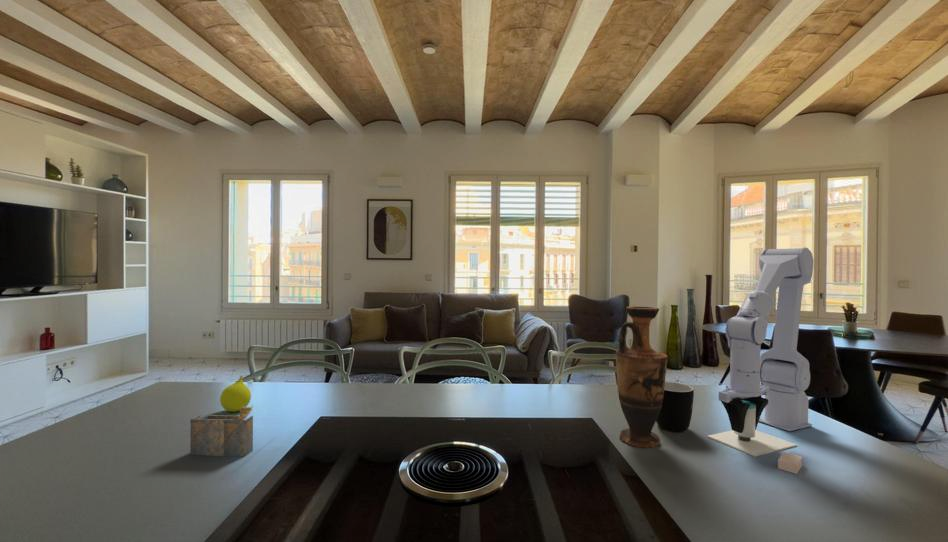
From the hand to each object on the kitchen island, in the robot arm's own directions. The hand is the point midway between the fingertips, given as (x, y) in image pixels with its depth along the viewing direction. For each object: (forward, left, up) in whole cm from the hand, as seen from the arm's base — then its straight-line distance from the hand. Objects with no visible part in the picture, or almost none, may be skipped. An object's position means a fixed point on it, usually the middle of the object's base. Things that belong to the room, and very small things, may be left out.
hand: (743, 429), depth 96 cm
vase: (+22, -9, -3) cm, 24 cm away
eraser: (+4, +12, -3) cm, 13 cm away
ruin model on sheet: (+107, -37, -3) cm, 113 cm away
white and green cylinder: (0, 0, -2) cm, 2 cm away
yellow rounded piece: (+107, -64, -3) cm, 125 cm away
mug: (+8, -13, -3) cm, 15 cm away
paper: (-1, +1, -2) cm, 3 cm away
